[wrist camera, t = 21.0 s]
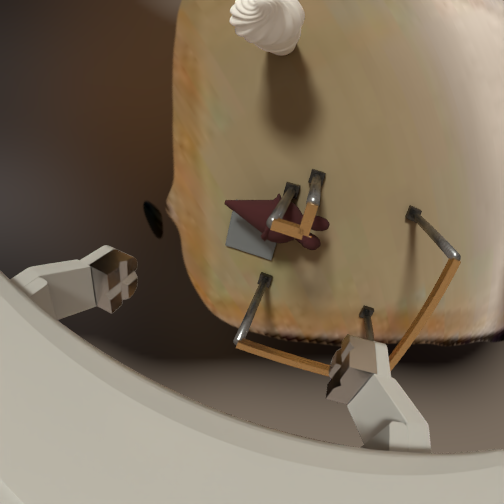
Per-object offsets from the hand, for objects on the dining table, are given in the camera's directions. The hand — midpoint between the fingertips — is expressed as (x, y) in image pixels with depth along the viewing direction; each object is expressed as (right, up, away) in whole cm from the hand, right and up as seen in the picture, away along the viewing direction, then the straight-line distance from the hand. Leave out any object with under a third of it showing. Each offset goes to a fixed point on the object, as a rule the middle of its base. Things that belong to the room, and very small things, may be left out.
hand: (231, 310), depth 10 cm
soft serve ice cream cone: (+5, +32, +22) cm, 39 cm away
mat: (+1, +6, +35) cm, 35 cm away
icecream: (-3, +9, +30) cm, 31 cm away
